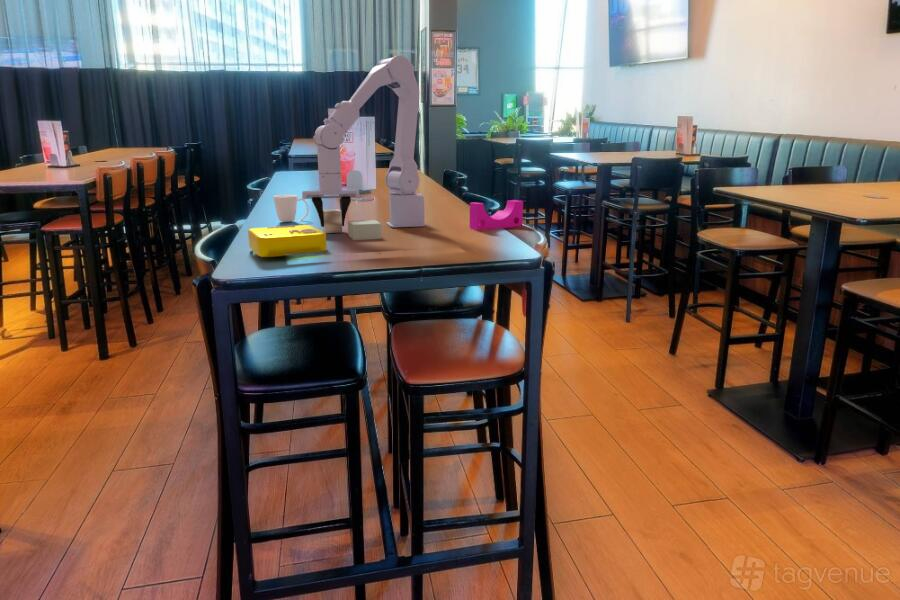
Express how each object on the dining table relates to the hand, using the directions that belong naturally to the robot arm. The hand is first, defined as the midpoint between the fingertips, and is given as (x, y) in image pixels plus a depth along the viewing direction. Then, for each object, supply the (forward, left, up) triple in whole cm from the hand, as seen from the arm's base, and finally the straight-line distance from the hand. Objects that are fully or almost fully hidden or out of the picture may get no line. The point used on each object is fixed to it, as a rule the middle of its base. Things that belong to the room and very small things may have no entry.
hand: (332, 226), depth 161 cm
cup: (+10, -19, -2) cm, 22 cm away
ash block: (0, 0, -1) cm, 1 cm away
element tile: (+12, +21, -2) cm, 24 cm away
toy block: (-44, +4, -2) cm, 44 cm away
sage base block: (-7, +10, -2) cm, 12 cm away
